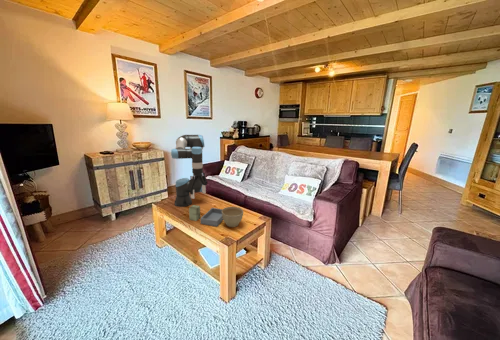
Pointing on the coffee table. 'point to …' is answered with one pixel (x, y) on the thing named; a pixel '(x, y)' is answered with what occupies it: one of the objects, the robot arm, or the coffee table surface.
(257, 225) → the coffee table surface
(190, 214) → the olive block
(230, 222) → the planter bowl
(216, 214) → the bin
